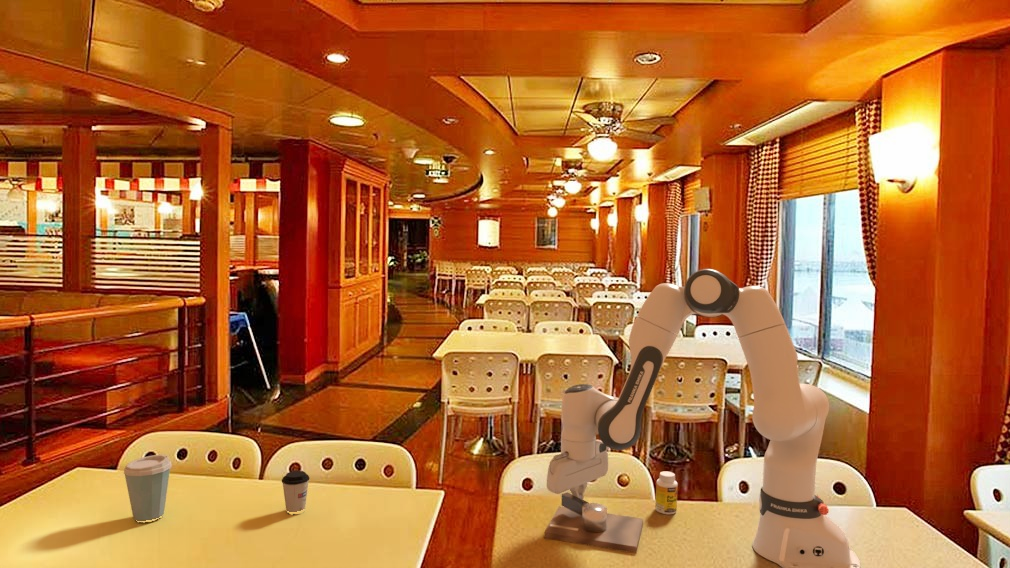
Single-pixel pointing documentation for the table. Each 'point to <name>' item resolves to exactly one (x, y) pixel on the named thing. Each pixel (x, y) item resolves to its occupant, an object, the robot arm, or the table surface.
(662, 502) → the supplement bottle
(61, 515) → the table surface
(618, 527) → the lock base
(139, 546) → the table surface
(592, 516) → the lever handle
